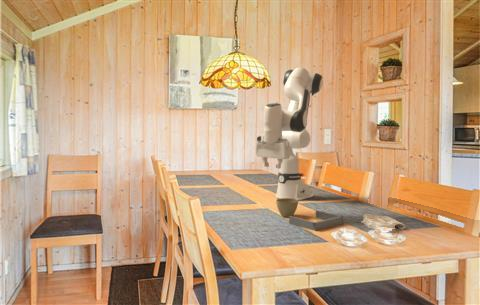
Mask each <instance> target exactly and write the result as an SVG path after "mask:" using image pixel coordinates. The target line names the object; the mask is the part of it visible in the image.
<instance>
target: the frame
mask: <svg viewBox="0 0 480 305" xmlns="http://www.w3.org/2000/svg"><path fill="white" fill-rule="evenodd" d="M315 218H316V219H321V220H319V221H311V220H308V219H304V218H300V217H297V216H294V215H293V216H289V217H288V219H289V220H288V224H290V225H294V226H297V227H301V228H305V229H308V230H312V231H314V230H315V231H318V230H319V231H320V230H323V229H327V228H332V227H335V226H339V225H342V224H344V216H342V215H338V214H334V213H331V212H330V213H329V212H325V211H320V210H315Z"/></svg>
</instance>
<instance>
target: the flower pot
mask: <svg viewBox="0 0 480 305" xmlns="http://www.w3.org/2000/svg"><path fill="white" fill-rule="evenodd" d="M275 202H276V206H277V211H278V212H279V215H280V216H281V217H283V218H289V216H293V217H294V214H295V213H296V211H297V209H298V205H299V200H296V199H292V198H277V199H276V201H275Z"/></svg>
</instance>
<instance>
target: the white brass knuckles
mask: <svg viewBox="0 0 480 305" xmlns="http://www.w3.org/2000/svg"><path fill="white" fill-rule="evenodd" d="M360 222H361V223H362V224H364V226H365V225H366V226H365V227H368V228H369V229H371V230H375V228H377V227H387V228H394V229H397V231H399V230H400V229H401V230H400V231H403V230H405V229H406V224H404V223H403V222H399V221H398V220H396V219H395V218H392V217H390V216H387V215H378V214H370V213H368V214H366V213H365V214H363V215H362V220H361V221H360ZM395 226H396V227H395ZM397 227H398V228H397ZM399 228H400V229H399ZM398 229H399V230H398Z"/></svg>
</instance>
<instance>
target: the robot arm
mask: <svg viewBox="0 0 480 305" xmlns="http://www.w3.org/2000/svg"><path fill="white" fill-rule="evenodd" d="M282 81H283V82H282V83H283V86H284V87H283V92H284V94H285V96H286V97H287V98H288V99H289V100H290V102H289V104H288V107H287V110H283V108H282V104H281V103H276V102H275V103H268V104H265V106H264V109H263V111H264V112H263V134H261V135H258V136H256V137H255V141H256V143H255V155H256V156H257V157H260V158H262V162H263V166H264V167H265V168H269V167H270V166H269V165H270V164H269V163H270V162H268V158H269V159H277V164H275V168H276V169H278V174H277V175H278V176H277V177H278V183H277V190H276V193H275V198H277V199H280V198H292V199H296V200H298V201H301V200H305V199H309V198H313V197H314V194H312V193H310V188H309V185H308V184H307V183H305V181H303V179H302V178H304V177H305V174H304V173H303V172H302V173H301V172H300V160H299V157H298V156H297V155H295V153H294V151H293V149H295V150H296V149H297V150H300V149H304V148H307V147H308V146H309V145H310V144H311V135H310V132H308V130H307V126H308V113H309V107H310V102H311V96H314V95H316V94H318V93H319V92H320V91H321V89H322V88H323V85H324V80H323V76H322V74H320V73H314V72H311V71H309V70H308V69H306V68H305V67H301V66H300V67H299V66H298V67H296V68H293V69H288V70H286V71H285V72H284V74H283V78H282Z"/></svg>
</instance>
